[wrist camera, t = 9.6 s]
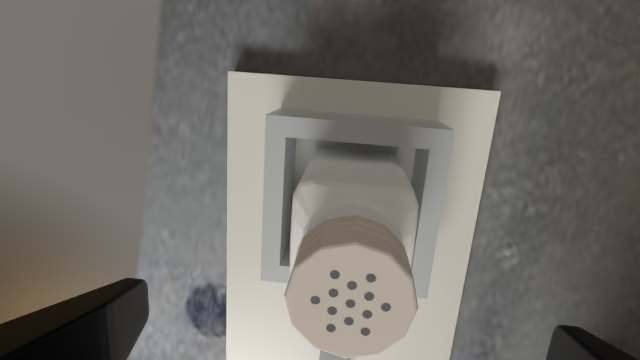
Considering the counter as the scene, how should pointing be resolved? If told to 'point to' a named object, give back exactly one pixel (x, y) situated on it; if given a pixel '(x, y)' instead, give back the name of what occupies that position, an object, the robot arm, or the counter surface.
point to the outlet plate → (355, 134)
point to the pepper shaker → (352, 252)
